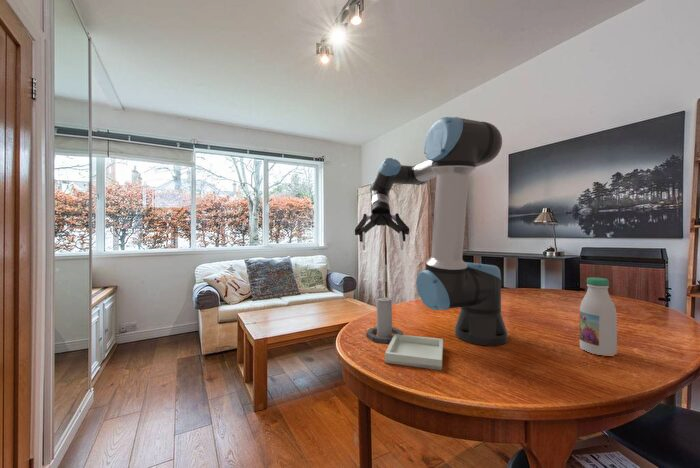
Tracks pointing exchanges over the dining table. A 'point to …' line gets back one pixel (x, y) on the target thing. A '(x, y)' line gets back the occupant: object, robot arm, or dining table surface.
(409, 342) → the tray
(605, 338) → the milk bottle
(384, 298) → the beverage can
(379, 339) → the seat ring
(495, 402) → the dining table surface
